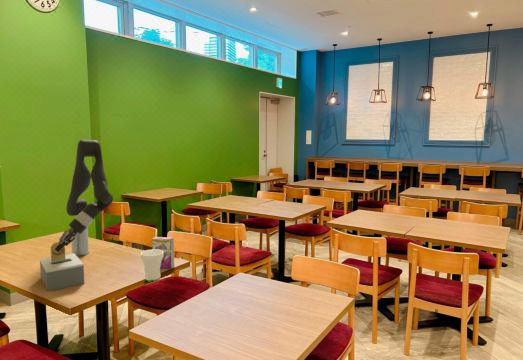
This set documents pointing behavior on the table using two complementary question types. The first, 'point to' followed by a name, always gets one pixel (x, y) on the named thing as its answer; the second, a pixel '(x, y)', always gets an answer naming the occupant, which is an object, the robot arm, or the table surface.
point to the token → (55, 254)
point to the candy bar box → (165, 250)
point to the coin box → (62, 272)
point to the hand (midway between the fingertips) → (55, 249)
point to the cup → (152, 263)
